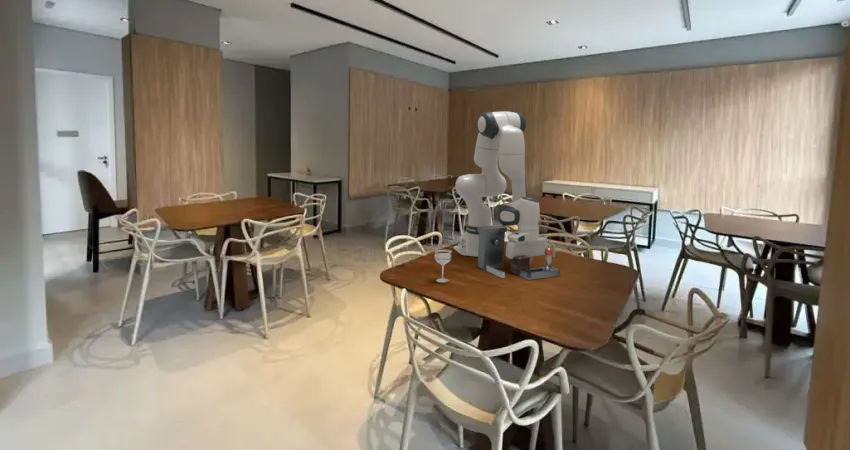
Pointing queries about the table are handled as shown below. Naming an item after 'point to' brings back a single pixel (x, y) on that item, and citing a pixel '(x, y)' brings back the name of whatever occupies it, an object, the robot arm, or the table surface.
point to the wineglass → (442, 260)
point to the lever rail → (539, 273)
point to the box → (519, 264)
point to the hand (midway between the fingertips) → (526, 266)
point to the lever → (548, 259)
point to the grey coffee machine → (491, 249)
